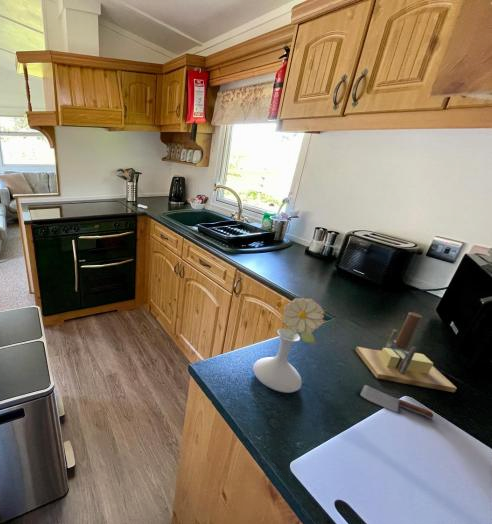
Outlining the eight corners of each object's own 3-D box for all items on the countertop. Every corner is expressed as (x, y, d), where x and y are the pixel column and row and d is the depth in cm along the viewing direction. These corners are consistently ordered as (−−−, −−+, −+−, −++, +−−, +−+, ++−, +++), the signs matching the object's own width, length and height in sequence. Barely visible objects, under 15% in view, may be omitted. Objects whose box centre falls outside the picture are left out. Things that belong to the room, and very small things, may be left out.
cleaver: (360, 394, 70) (364, 380, 73) (358, 398, 71) (362, 384, 74) (434, 429, 62) (434, 411, 65) (431, 432, 63) (431, 415, 66)
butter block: (418, 364, 81) (423, 354, 80) (428, 374, 78) (433, 363, 76) (389, 359, 82) (394, 349, 81) (398, 368, 79) (403, 358, 78)
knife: (391, 357, 83) (413, 309, 78) (405, 372, 78) (430, 322, 72) (381, 355, 84) (402, 308, 78) (394, 370, 78) (418, 320, 72)
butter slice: (386, 358, 83) (391, 348, 81) (395, 368, 79) (400, 357, 78) (378, 357, 83) (383, 347, 82) (386, 366, 79) (391, 356, 78)
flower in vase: (243, 366, 77) (263, 282, 69) (279, 362, 80) (303, 281, 71) (274, 406, 66) (303, 310, 57) (315, 399, 68) (350, 307, 59)
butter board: (422, 362, 85) (437, 333, 81) (454, 392, 74) (473, 361, 70) (355, 350, 88) (366, 322, 84) (376, 378, 77) (390, 347, 73)
